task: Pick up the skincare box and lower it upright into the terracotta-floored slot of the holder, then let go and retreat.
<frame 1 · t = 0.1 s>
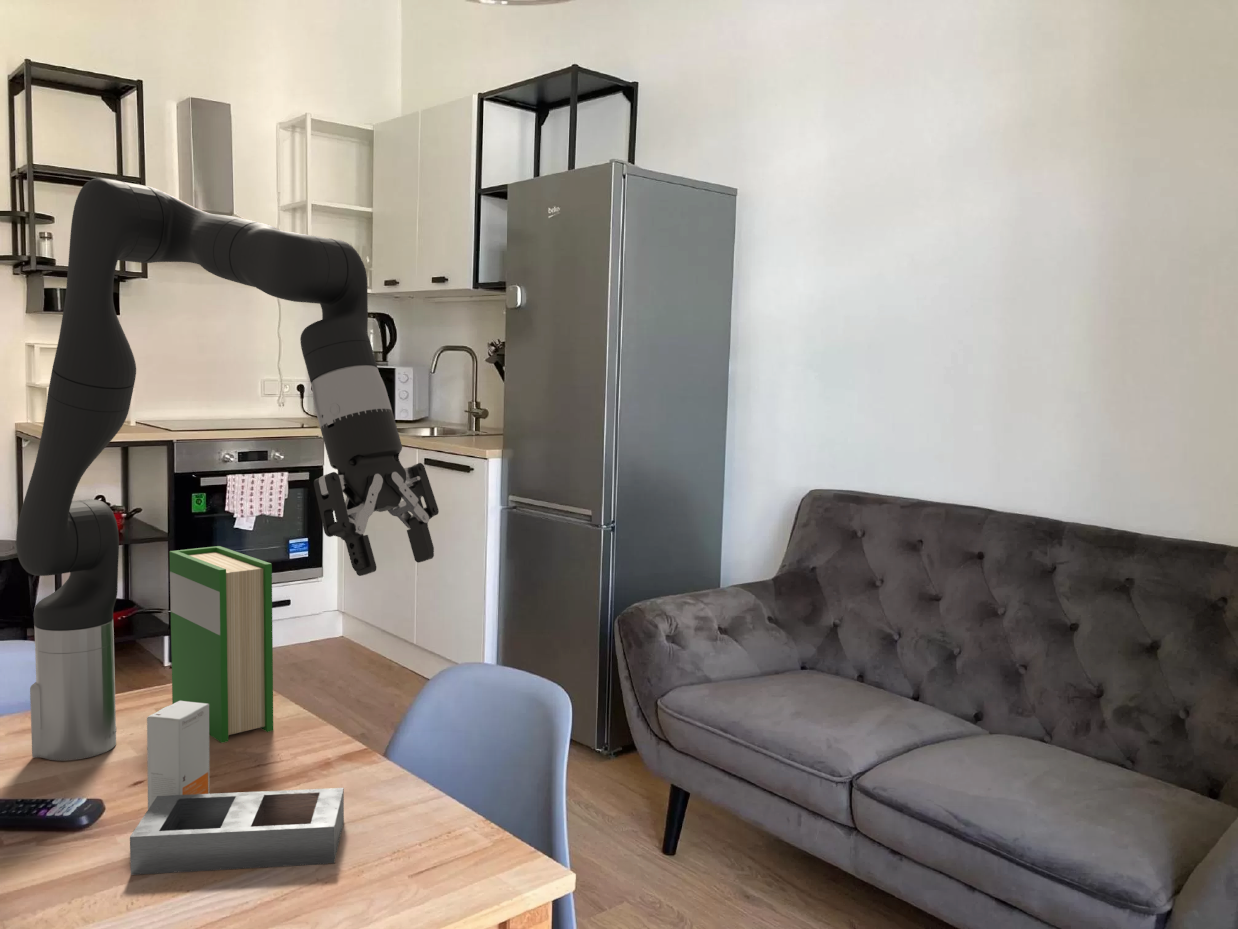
hand: (397, 567, 106), 31 cm above the table, tool tilted 20°, fingers open, 8 cm apart
hardback book: (221, 721, 149), on the table
holder: (243, 846, 111), on the table
skincare box: (180, 811, 120), on the table
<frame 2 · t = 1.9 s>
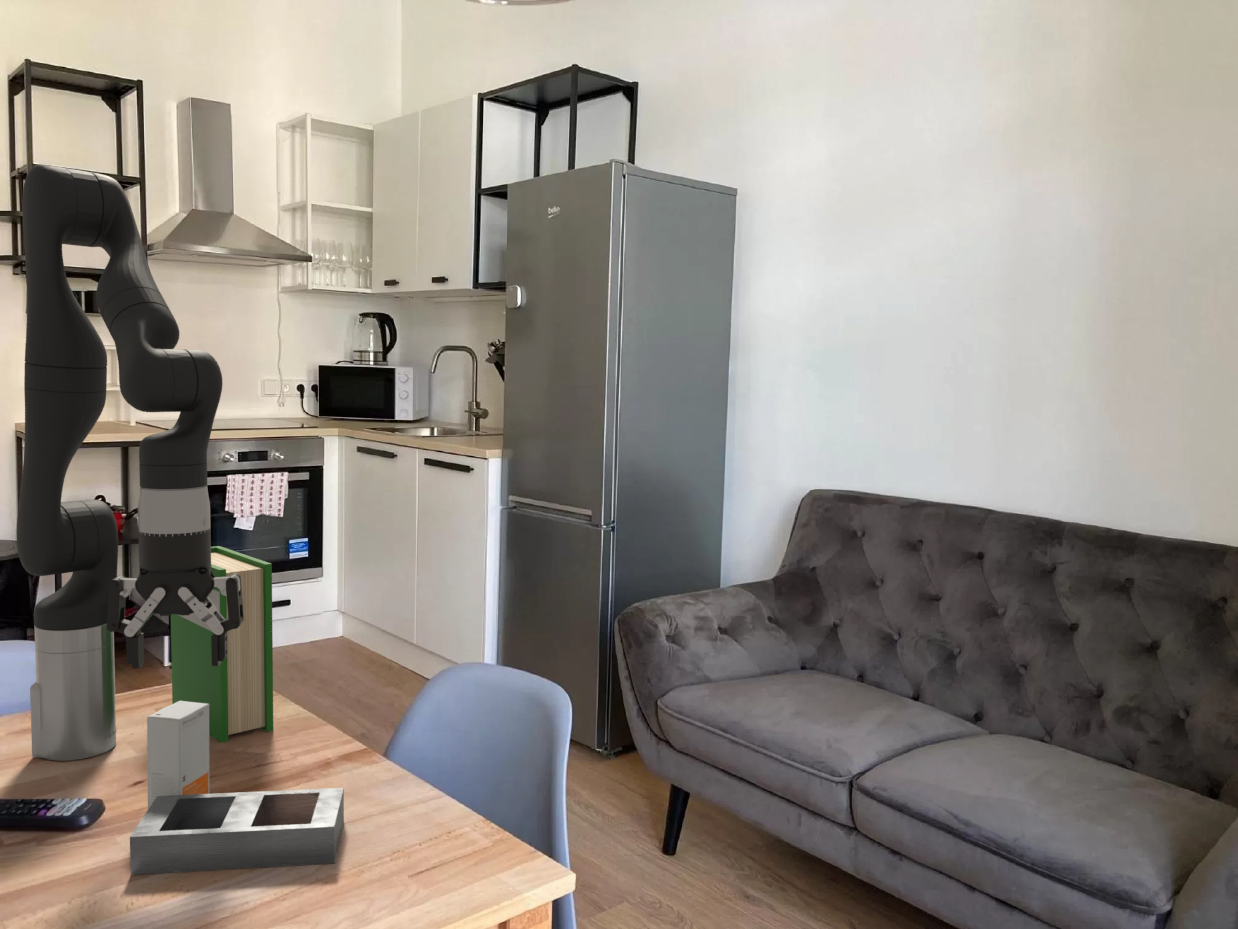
hand: (177, 665, 118), 17 cm above the table, tool pointing down, fingers open, 8 cm apart
nothing on the table moved.
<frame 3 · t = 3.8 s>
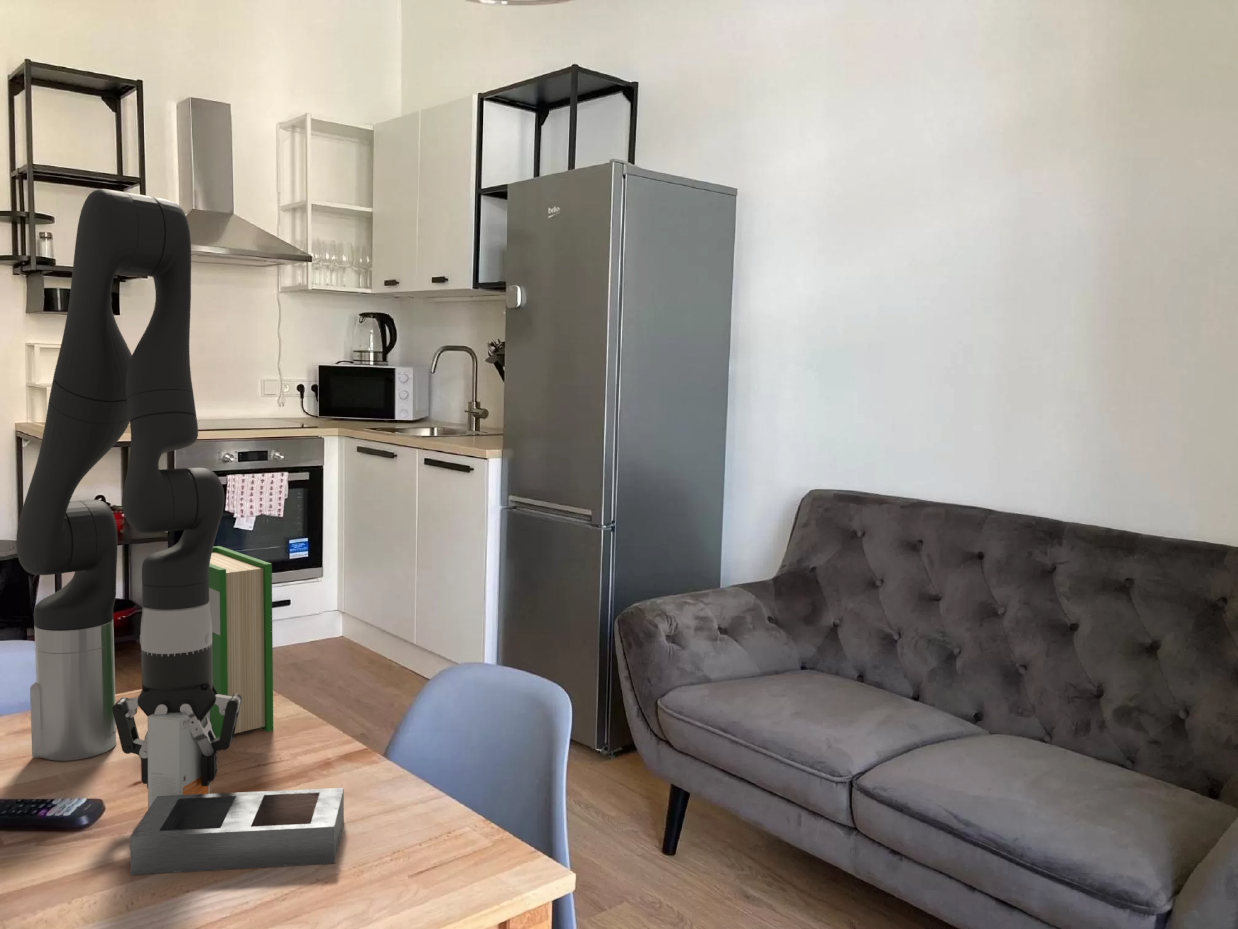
hand: (179, 784, 119), 3 cm above the table, tool pointing down, fingers closed on skincare box, 5 cm apart
skincare box: (180, 811, 120), on the table, touching gripper
everything else where it was.
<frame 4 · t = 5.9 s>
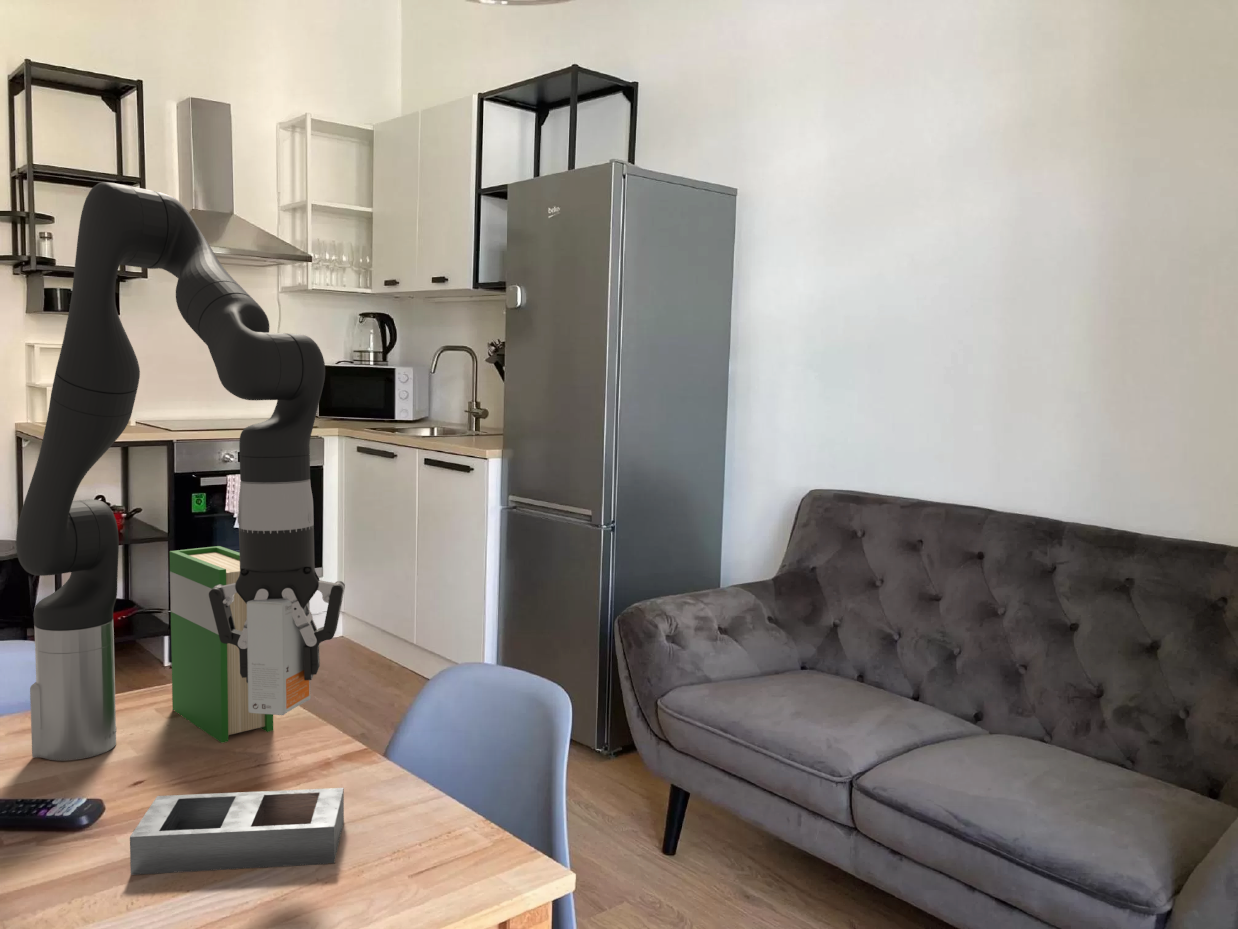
hand: (280, 679, 110), 18 cm above the table, tool pointing down, fingers closed on skincare box, 5 cm apart
skincare box: (281, 708, 110), point 15 cm above the table, touching gripper
everything else where it was.
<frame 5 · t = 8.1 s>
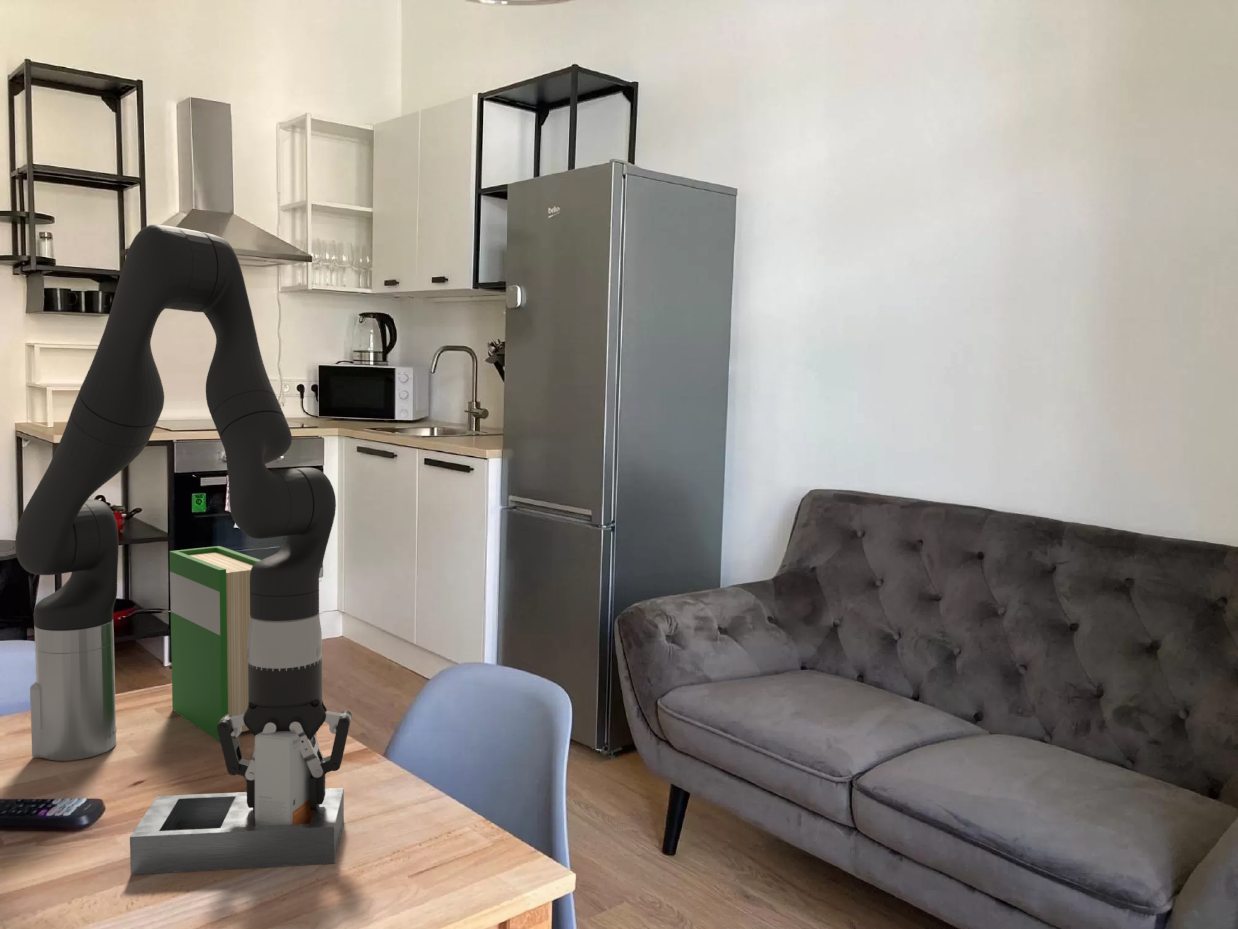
hand: (286, 808, 111), 4 cm above the table, tool pointing down, fingers closed on skincare box, 5 cm apart
skincare box: (286, 836, 111), point 1 cm above the table, touching gripper
everything else where it was.
when the fingers open (4 cm above the table, at t = 8.4 s): skincare box stays where it is, resting on holder.
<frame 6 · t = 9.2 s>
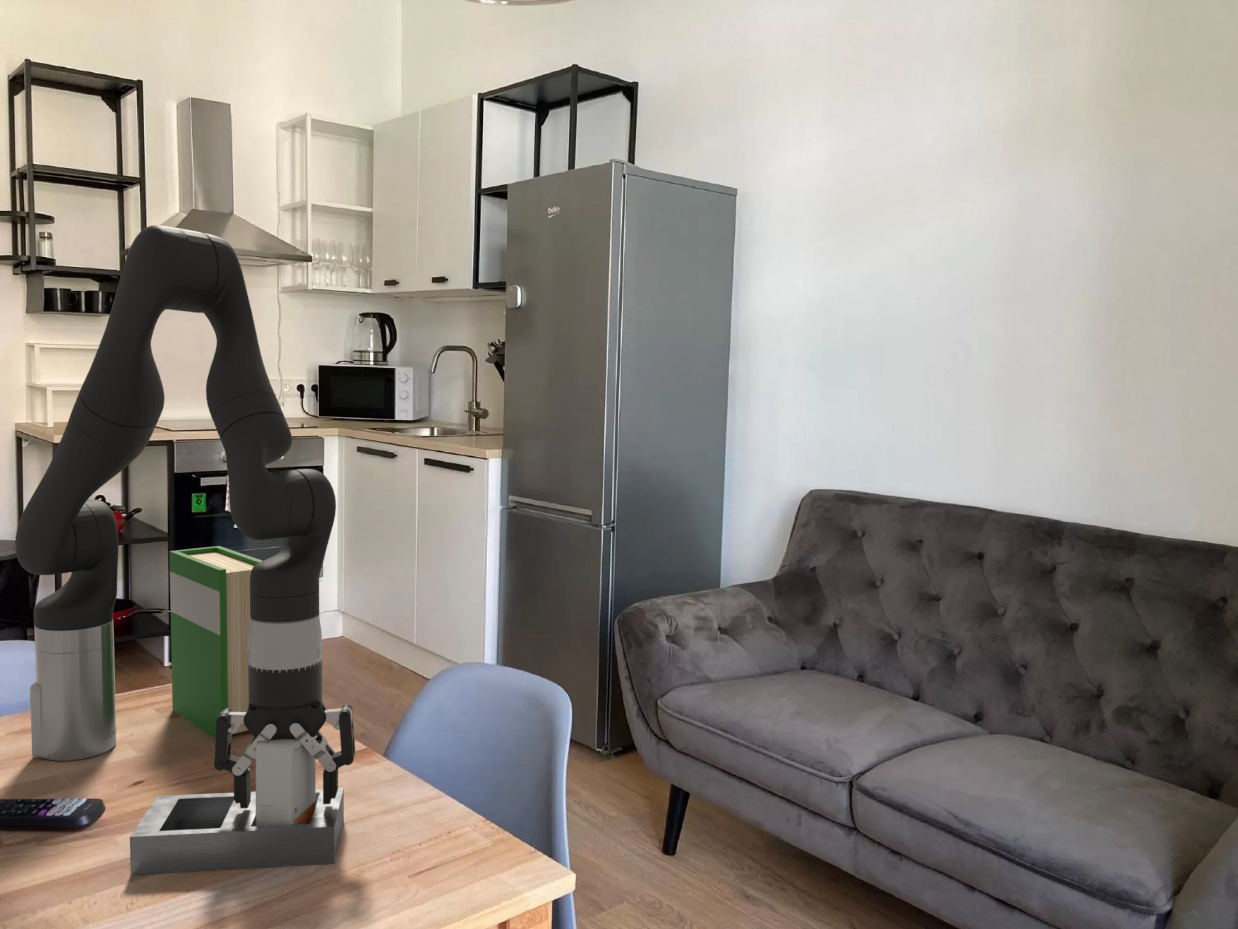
hand: (286, 803, 111), 5 cm above the table, tool pointing down, fingers open, 8 cm apart
skincare box: (286, 844, 111), resting on holder
everything else where it was.
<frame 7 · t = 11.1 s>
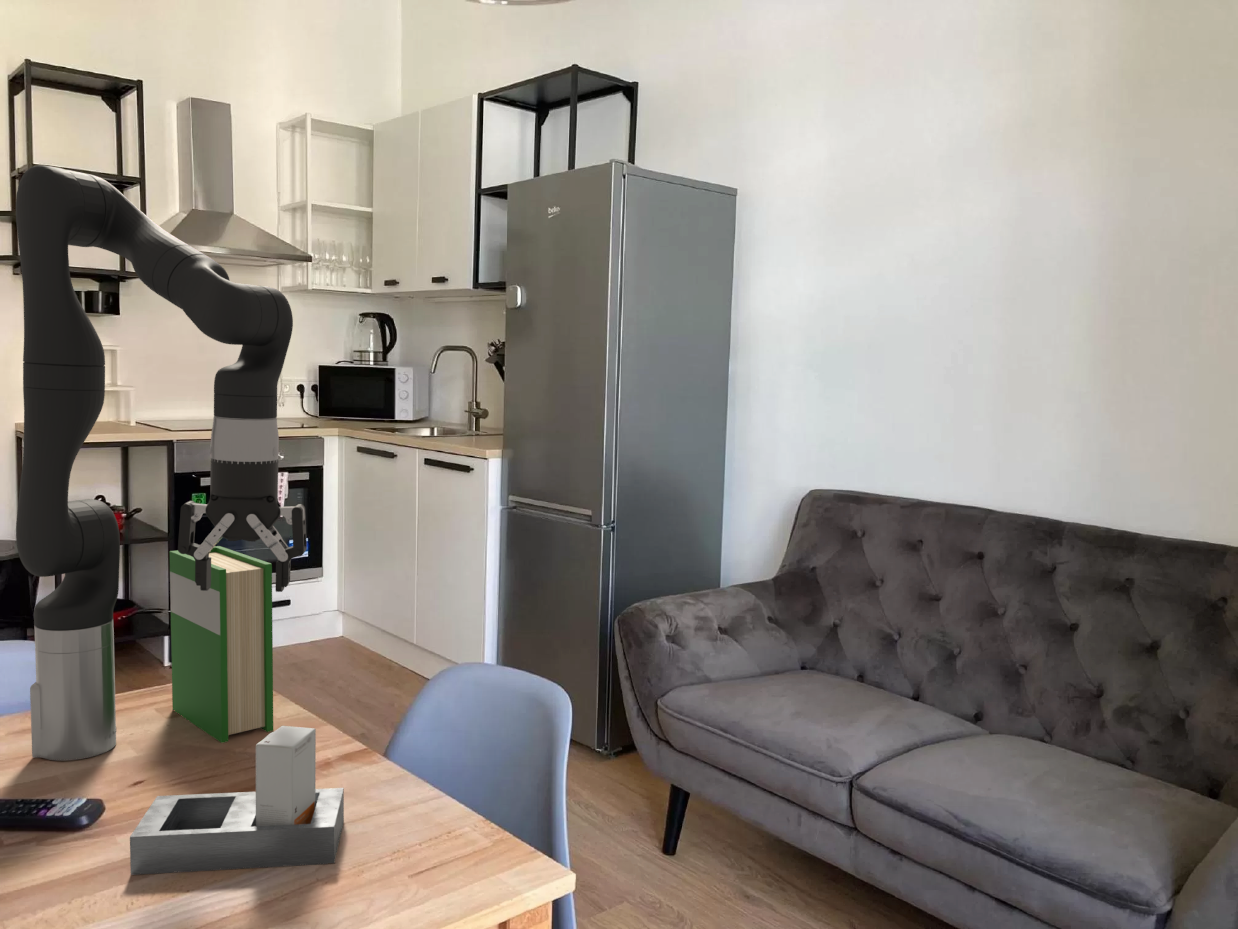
hand: (242, 589, 123), 25 cm above the table, tool pointing down, fingers open, 8 cm apart
nothing on the table moved.
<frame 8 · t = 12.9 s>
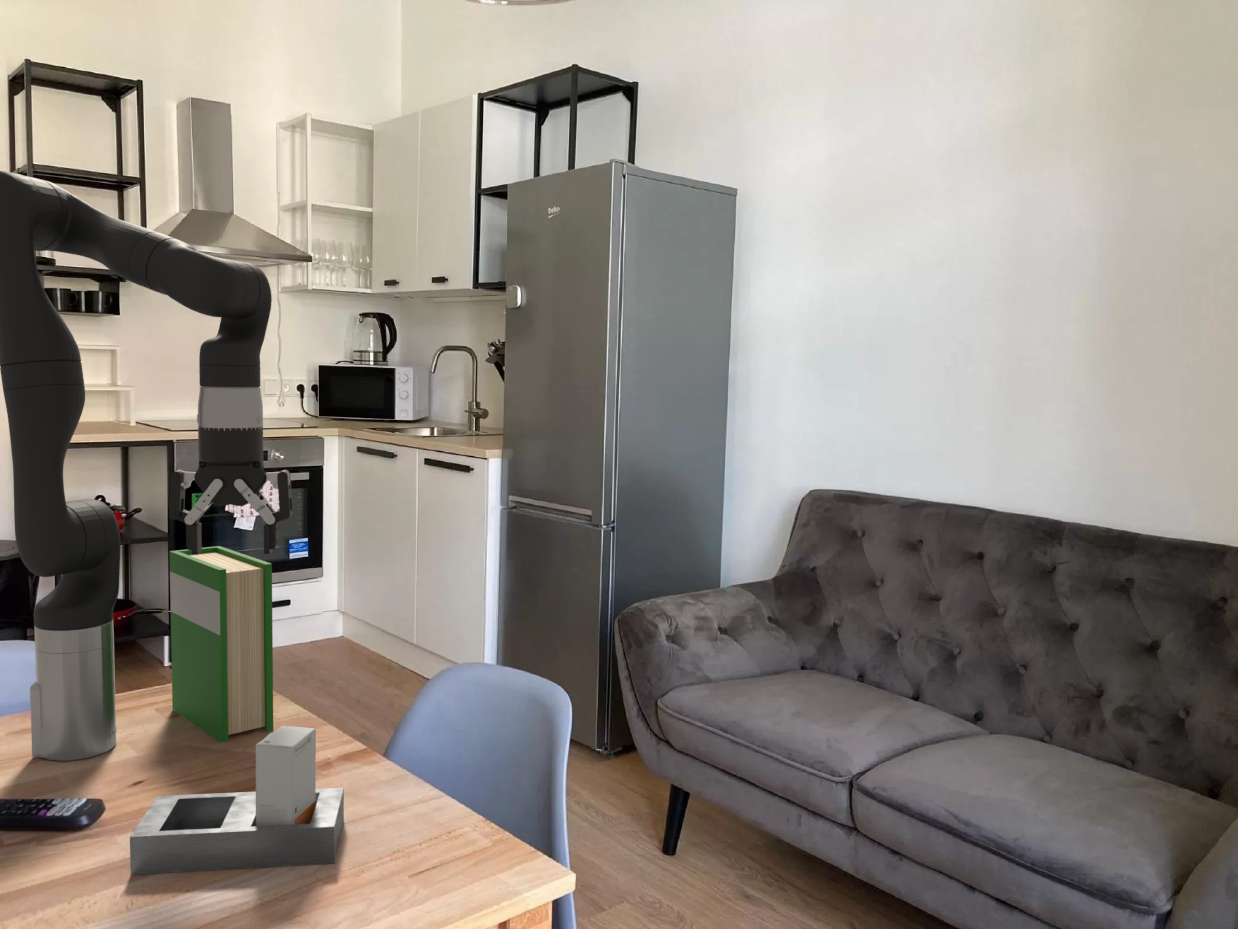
hand: (232, 553, 128), 28 cm above the table, tool pointing down, fingers open, 8 cm apart
nothing on the table moved.
at the end: skincare box 0.0 cm from the target spot on the holder, point 0.0 cm above the holder's base; skincare box tilted 0°; the gripper is holding nothing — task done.
